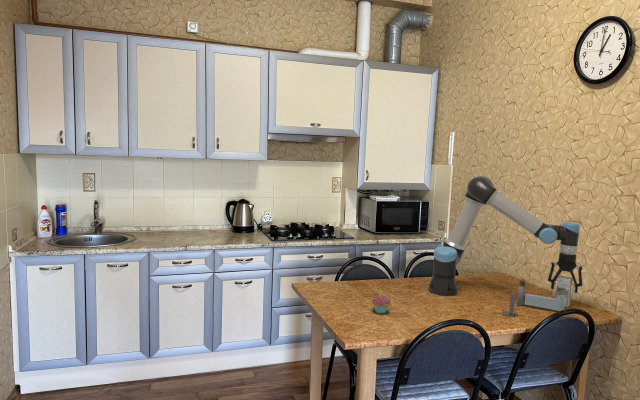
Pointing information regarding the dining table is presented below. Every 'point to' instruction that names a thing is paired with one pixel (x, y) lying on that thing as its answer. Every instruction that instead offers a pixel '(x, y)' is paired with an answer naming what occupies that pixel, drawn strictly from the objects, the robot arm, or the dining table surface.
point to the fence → (522, 283)
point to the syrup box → (564, 289)
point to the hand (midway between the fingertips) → (563, 297)
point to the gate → (540, 300)
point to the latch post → (511, 310)
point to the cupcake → (381, 303)
